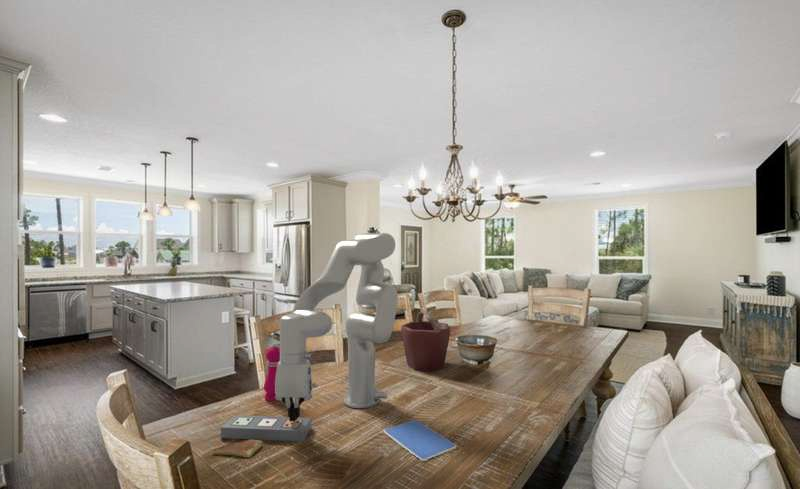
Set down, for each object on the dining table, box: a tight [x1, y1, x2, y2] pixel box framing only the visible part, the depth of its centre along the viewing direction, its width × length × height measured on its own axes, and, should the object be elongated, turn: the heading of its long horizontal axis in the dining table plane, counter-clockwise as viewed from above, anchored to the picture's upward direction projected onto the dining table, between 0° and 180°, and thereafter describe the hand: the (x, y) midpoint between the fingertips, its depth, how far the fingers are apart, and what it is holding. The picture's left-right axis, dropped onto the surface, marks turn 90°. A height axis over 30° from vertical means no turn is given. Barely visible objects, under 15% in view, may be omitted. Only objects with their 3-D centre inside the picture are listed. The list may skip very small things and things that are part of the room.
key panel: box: [220, 414, 313, 443], centre depth 111 cm, size 24×8×3 cm, turn 86°
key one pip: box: [257, 419, 278, 427], centre depth 111 cm, size 4×4×2 cm
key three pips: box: [282, 420, 302, 428], centre depth 110 cm, size 4×4×2 cm
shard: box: [211, 439, 263, 458], centre depth 102 cm, size 11×8×2 cm
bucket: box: [400, 310, 451, 373], centre depth 175 cm, size 24×22×25 cm
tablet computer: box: [382, 419, 458, 461], centre depth 107 cm, size 19×13×1 cm, turn 35°
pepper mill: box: [263, 342, 280, 402], centre depth 136 cm, size 7×7×20 cm
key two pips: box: [232, 418, 253, 426], centre depth 111 cm, size 4×4×2 cm
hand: (294, 419), depth 111 cm, fingers closed
